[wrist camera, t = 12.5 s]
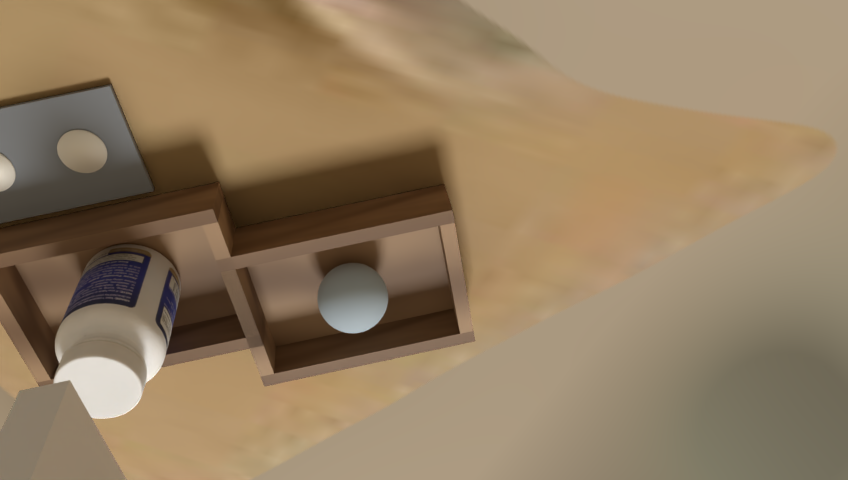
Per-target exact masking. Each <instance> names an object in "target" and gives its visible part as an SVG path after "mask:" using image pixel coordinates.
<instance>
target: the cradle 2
mask: <svg viewBox="0 0 848 480" xmlns="http://www.w3.org/2000/svg"><path fill="white" fill-rule="evenodd" d="M225 259H226V260H225ZM225 259H220V260H216V262H217V264H218V267H219V266H220V267H219V270H220V272H221V274H222V276H223V280H224V283H225V285H226V288H227V290H229V291H228V293H229V296H230V297H231V298H232V299H231V300H233V301H232V303H233V304H234V305H233V306H234V309H235V308H236V314H237V316H238V318H239V320H240V321H239V322H240V324H241V327H242V329H243V331H244V332H246V333H244V335H245V334H246V335H245V337H246V338H248V337H249V336H250V337H251V336H253V337H252V338H254V335H255V334H256V335H255V336H257V335H258V336H260V335H259V334H260V326H261V320H262V319H263V318H264V321H263V322H264V323H265V335H264V346H263V344H261V345H262V346H261V345H258V346H259V347H258V346H257V347H254V348H253V347H252V348H250V350H251V353H252V355H253V358H254V360H255V363H256V366H257V368H258V371H259V373H260V376H261V379H262V381H263V384H264V386H269V385H274V384H278V383H283V382H288V381H292V380H297V379H302V378H306V377H311V376H316V375H320V374H325V373H329V372H334V371H339V370H343V369H348V368H353V367H357V366H362V365H367V364H371V363H376V362H381V361H385V360H390V359H395V358H399V357H404V356H408V355H413V354H418V353H422V352H427V351H432V350H436V349H441V348H446V347H450V346H455V345H460V344H464V343H469V342H473V341H475V337H474V331H473V325H472V320H471V314H470V308H469V302H468V297H467V291H466V285H465V279H464V273H463V268H462V262H461V256H460V250H459V245H458V239H457V233H456V227H455V222H454V216H453V210H452V207H451V204H450V201H449V198H448V195H447V191H446V188H445V185H444V184H443V185H438V186H433V187H429V188H424V189H419V190H414V191H410V192H405V193H400V194H396V195H391V196H386V197H381V198H377V199H372V200H367V201H363V202H358V203H353V204H348V205H344V206H339V207H334V208H329V209H325V210H320V211H315V212H311V213H306V214H301V215H296V216H292V217H287V218H282V219H278V220H273V221H268V222H263V223H259V224H254V225H249V226H244V227H240V228H236V229H235V235H234V241H233V247H232V253H231V257H229V258H225ZM221 260H222V261H223V262H222V261H221ZM227 260H228V261H227ZM219 261H220V262H219ZM346 263H360V264H364V265H367V266H369V267H371V268H372V269H374V270H375V271H376V272H377V273H378V274H379V275H380V276H381V277H382V279H383V280H384V282H385V284H386V287H387V291H388V304H387V308H386V311H385V313H384V315H383V317H382V318H381V320H380V321H379V322H378V323H377V324H376V325H375V326H373V327H372V328H370V329H369V330H367V331H364V332H360V333H345V332H341V331H339V330H337V329H335V328H333V327H332V326H330V325H329V324H328V323H327V322H326V321H325V319H324V318H323V316H322V315H321V313H320V310H319V307H318V300H317V297H318V290H319V286H320V284H321V282H322V280H323V279H324V277H325V276H326V275H327V274H328V273H329V272H330V271H331V270H332V269H334V268H335V267H337V266H339V265H342V264H346ZM221 264H222V265H221ZM228 264H229V265H228ZM230 264H231V265H230ZM232 264H233V265H234V267H233V265H232ZM224 265H225V266H224ZM228 266H229V267H228ZM222 267H224V268H222ZM226 267H227V268H226ZM232 268H234V269H232ZM229 269H230V270H229ZM228 270H229V271H230V272H229V271H228ZM231 271H232V273H233V272H234V274H235V276H234V274H233V275H231V274H232V273H231ZM223 272H224V273H223ZM225 273H226V274H228V275H230V276H229V277H228V275H227V276H226V275H225ZM224 275H225V278H224ZM236 275H237V277H236ZM226 277H227V278H226ZM231 277H232V278H231ZM230 278H231V281H230V283H229V281H228V280H230ZM236 278H237V279H236ZM238 278H239V279H238ZM225 279H226V280H225ZM232 279H234V282H233V280H232ZM225 281H226V282H225ZM227 281H228V282H227ZM236 281H237V282H236ZM235 282H236V285H234V284H235ZM227 284H228V287H227ZM231 284H232V287H231ZM237 284H238V286H239V285H240V286H241V289H239V288H240V286H239V287H238V286H237ZM233 285H234V286H233ZM228 288H229V289H228ZM232 288H233V294H234V295H235V292H236V289H237V292H236V295H235V296H236V297H235V296H234V295H233V294H232V292H231V291H232ZM230 289H231V291H230ZM234 289H235V290H234ZM242 289H243V291H242ZM234 291H235V292H234ZM239 291H240V295H239V293H238V292H239ZM243 292H244V293H243ZM237 293H238V294H237ZM241 294H242V297H241ZM237 295H238V296H237ZM243 295H244V297H245V298H246V299H247V301H246V299H243ZM234 298H235V299H237V300H235V299H234ZM239 298H240V299H239ZM234 300H235V303H234ZM240 300H241V301H240ZM236 301H237V302H236ZM238 301H239V305H238ZM242 301H243V302H242ZM240 302H241V303H240ZM247 302H248V303H247ZM236 304H237V305H236ZM244 304H245V305H246V307H245V306H244ZM242 305H243V306H242ZM238 306H240V307H238ZM241 306H242V307H241ZM243 307H244V309H243ZM237 308H238V309H237ZM241 308H242V309H241ZM247 308H248V309H247ZM249 308H250V311H251V312H250V311H249ZM237 310H238V313H237ZM240 310H242V311H240ZM244 311H245V314H244V313H242V312H244ZM239 312H241V315H242V314H243V315H242V316H243V317H244V318H245V319H246V320H245V319H244V318H243V317H242V316H241V315H240V313H239ZM246 312H247V315H246ZM249 312H250V313H249ZM244 315H245V316H244ZM249 315H250V316H249ZM248 316H249V318H248ZM261 316H262V318H261ZM246 317H247V318H248V319H247V318H246ZM240 318H242V319H240ZM251 318H252V320H251ZM249 319H250V320H249ZM265 319H266V320H265ZM253 320H254V325H253V327H254V328H255V329H254V328H252V325H250V324H251V323H250V322H251V321H252V322H253ZM249 321H250V322H249ZM241 322H242V323H241ZM243 322H244V325H245V324H246V325H245V327H244V325H243ZM247 322H248V323H247ZM263 322H262V323H263ZM252 324H253V323H252ZM263 325H264V324H263ZM246 326H247V327H248V326H249V327H248V328H249V330H248V328H247V327H246ZM244 328H245V329H244ZM251 328H252V329H251ZM250 329H251V332H252V333H251V332H250ZM256 329H257V330H258V333H257V330H256ZM246 330H247V331H246ZM252 330H253V331H252ZM255 331H256V332H255ZM253 332H254V333H253ZM247 334H248V335H249V336H248V335H247ZM247 336H248V337H247ZM258 336H257V339H258V338H260V337H258ZM254 339H255V338H254ZM257 339H256V343H255V344H257V343H258V344H259V339H258V341H257ZM260 339H261V338H260ZM247 340H248V339H247ZM252 340H253V339H252ZM249 342H250V341H249ZM253 342H254V341H253ZM261 342H262V340H261ZM249 344H250V345H249V347H250V346H251V342H250V343H249ZM252 344H253V345H254V343H252ZM254 346H255V345H254Z"/></svg>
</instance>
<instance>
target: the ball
mask: <svg viewBox="0 0 848 480" xmlns="http://www.w3.org/2000/svg"><path fill="white" fill-rule="evenodd" d="M317 300H318V307H319V310H320V313H321V315H322V316H323V318H324V319H325V321H326V322H327V323H328V324H329V325H330V326H332V327H333V328H335V329H337V330H339V331H341V332H345V333H360V332H364V331H367V330H369V329H370V328H372V327H373V326H375V325H376V324H377V323H378V322H379V321H380V320H381V318H382V317H383V315H384V313H385V311H386V308H387V304H388V291H387V287H386V284H385V282H384V280H383V279H382V277H381V276H380V275H379V274H378V273H377V272H376V271H375V270H374V269H372V268H371V267H369V266H367V265H364V264H360V263H346V264H342V265H339V266H337V267H335V268H334V269H332V270H331V271H330V272H329V273H328V274H327V275H326V276H325V277H324V279H323V280H322V282H321V284H320V286H319V290H318V297H317Z"/></svg>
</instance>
